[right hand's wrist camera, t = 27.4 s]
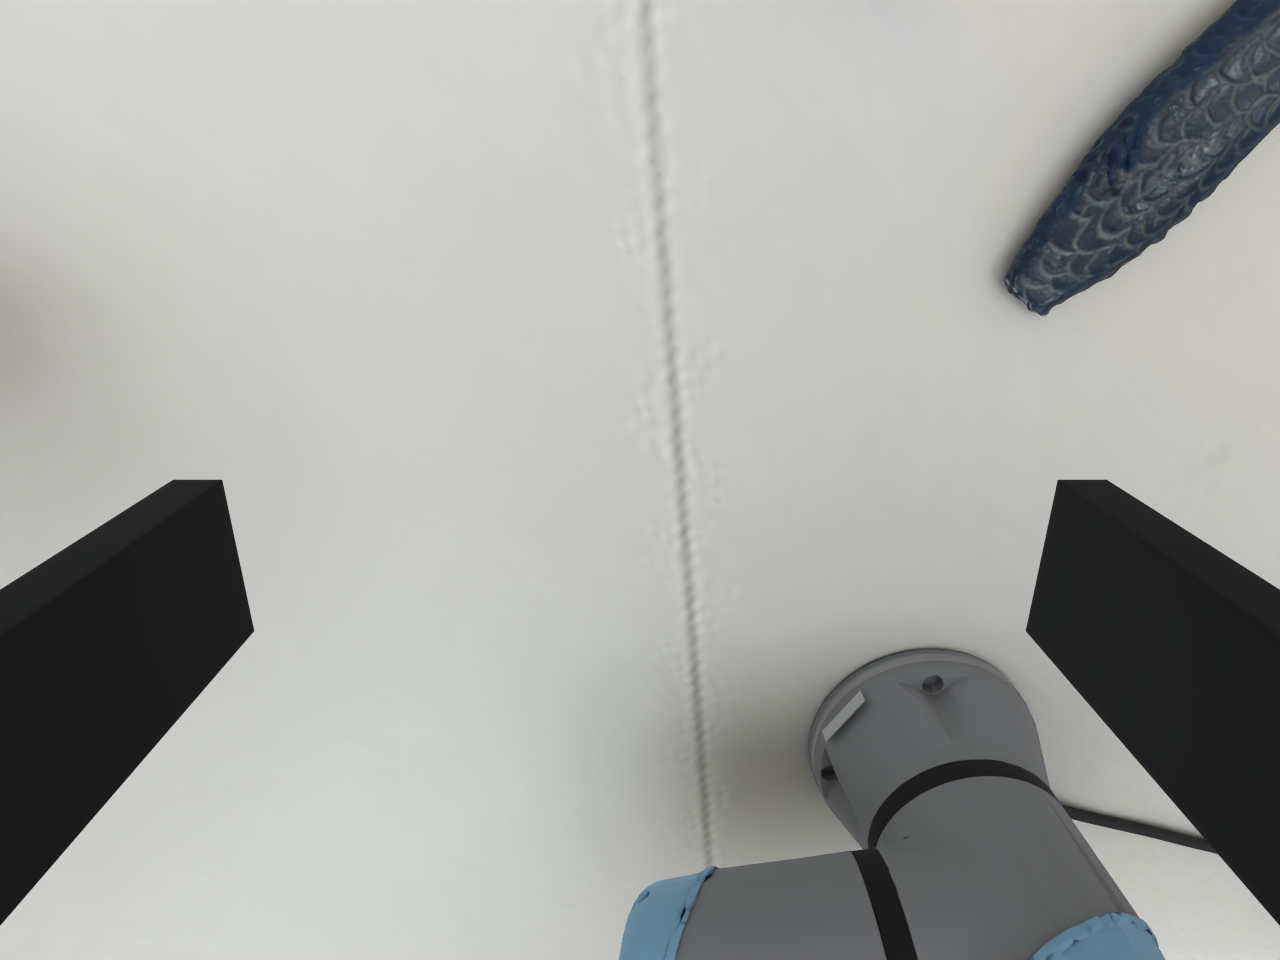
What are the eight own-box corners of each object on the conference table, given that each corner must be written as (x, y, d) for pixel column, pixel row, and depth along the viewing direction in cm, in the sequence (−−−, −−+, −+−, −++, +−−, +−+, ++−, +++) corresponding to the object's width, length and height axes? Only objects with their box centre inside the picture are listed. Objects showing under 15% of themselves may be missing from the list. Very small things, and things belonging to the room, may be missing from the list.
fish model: (1380, -1, 38) (1483, -27, 33) (1055, 338, 44) (1103, 356, 39) (1296, -98, 36) (1390, -140, 32) (973, 265, 43) (1012, 275, 38)
